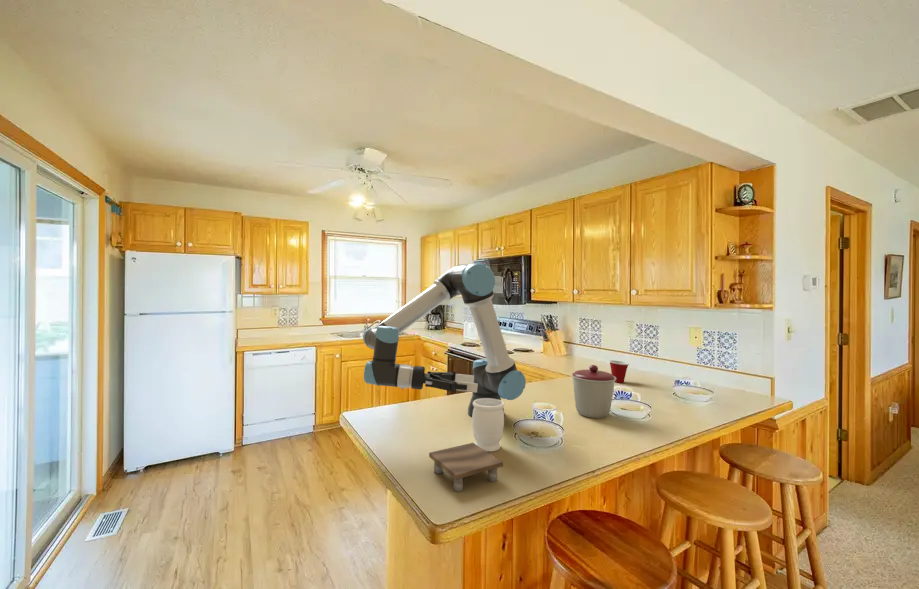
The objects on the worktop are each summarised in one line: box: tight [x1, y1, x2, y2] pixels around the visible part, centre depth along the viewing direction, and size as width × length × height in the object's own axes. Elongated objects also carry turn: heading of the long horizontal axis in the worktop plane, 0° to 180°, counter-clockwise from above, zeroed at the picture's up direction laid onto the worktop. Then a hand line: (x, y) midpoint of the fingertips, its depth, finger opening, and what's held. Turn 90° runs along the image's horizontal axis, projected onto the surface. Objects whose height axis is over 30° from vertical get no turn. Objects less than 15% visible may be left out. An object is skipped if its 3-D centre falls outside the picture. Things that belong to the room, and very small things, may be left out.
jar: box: [471, 398, 505, 453], centre depth 128 cm, size 11×10×15 cm
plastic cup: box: [608, 359, 630, 384], centre depth 222 cm, size 11×11×12 cm
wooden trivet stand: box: [428, 442, 504, 493], centre depth 108 cm, size 15×15×5 cm
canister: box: [570, 364, 616, 419], centre depth 163 cm, size 18×18×21 cm
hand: (475, 383), depth 128 cm, fingers open, 13 cm apart
